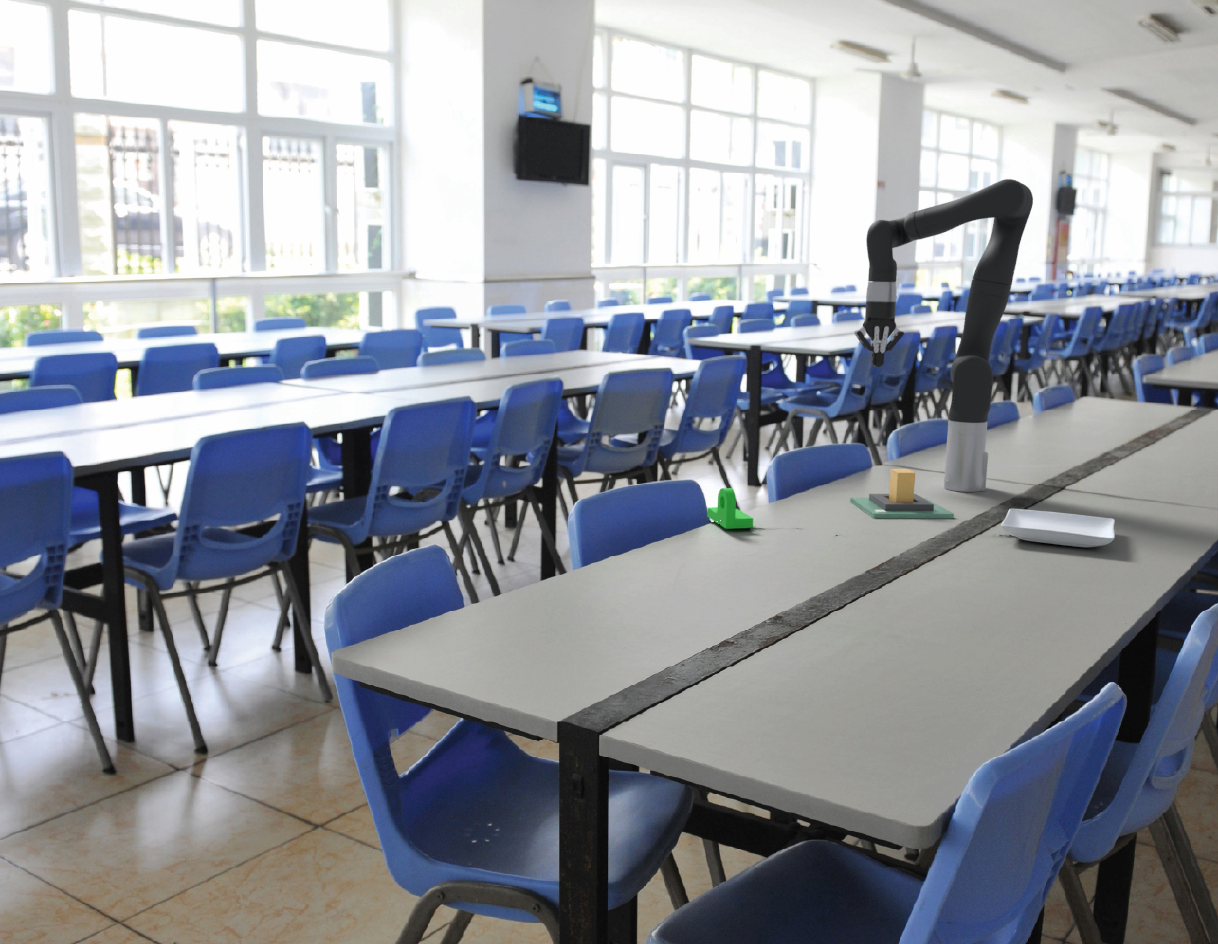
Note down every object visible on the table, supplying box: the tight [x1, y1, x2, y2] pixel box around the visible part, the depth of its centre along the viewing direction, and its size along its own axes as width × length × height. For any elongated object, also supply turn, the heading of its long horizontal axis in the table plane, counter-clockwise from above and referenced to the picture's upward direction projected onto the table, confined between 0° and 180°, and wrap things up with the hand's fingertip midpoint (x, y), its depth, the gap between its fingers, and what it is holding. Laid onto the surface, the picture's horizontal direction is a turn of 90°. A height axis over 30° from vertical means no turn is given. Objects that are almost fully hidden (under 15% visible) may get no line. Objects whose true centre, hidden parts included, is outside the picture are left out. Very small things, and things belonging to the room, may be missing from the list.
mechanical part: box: [707, 487, 754, 529], centre depth 240 cm, size 12×6×8 cm, turn 14°
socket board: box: [849, 493, 955, 519], centre depth 255 cm, size 18×18×2 cm
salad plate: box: [1000, 508, 1116, 548], centre depth 233 cm, size 21×21×3 cm
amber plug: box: [888, 468, 916, 502], centre depth 255 cm, size 4×5×8 cm
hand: (877, 367), depth 292 cm, fingers closed
